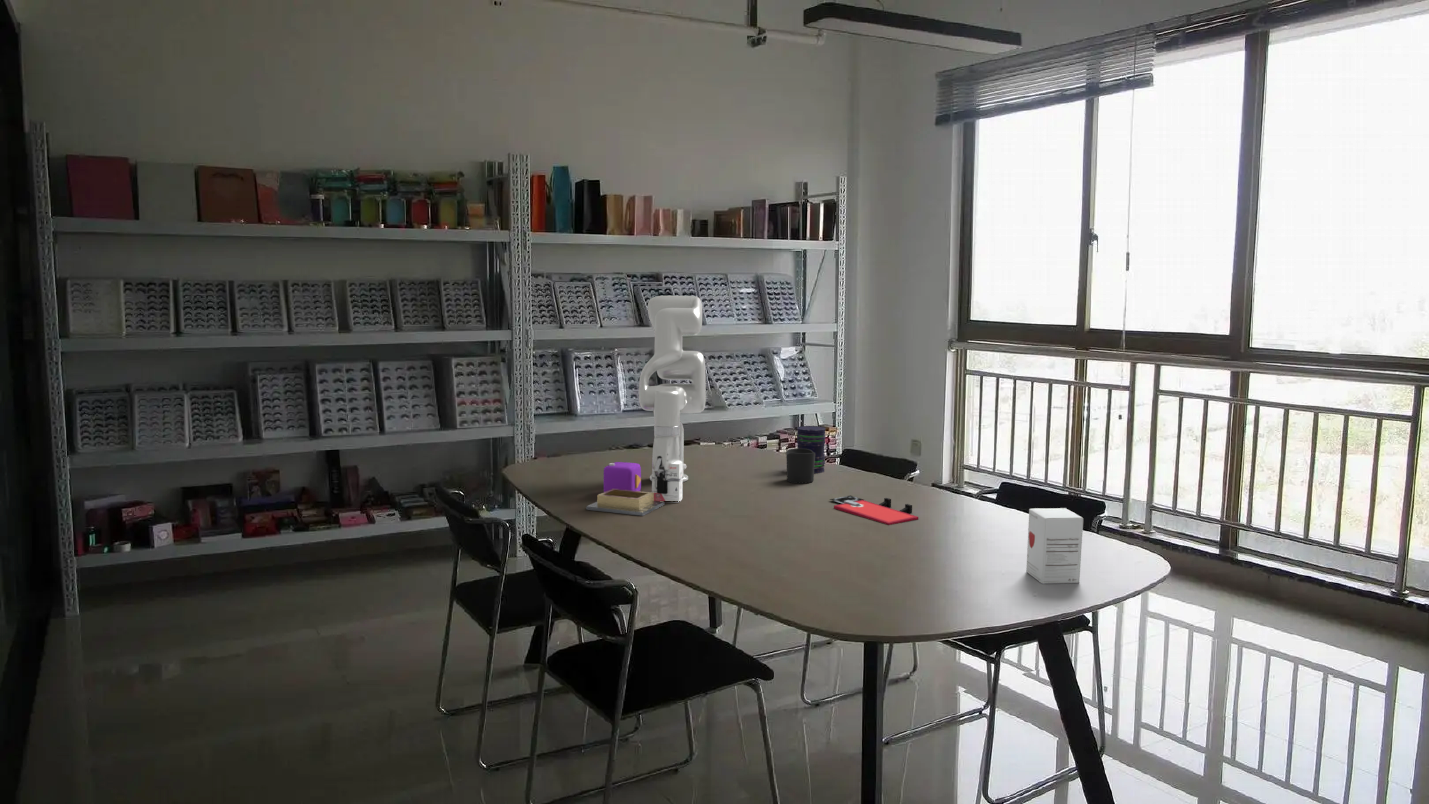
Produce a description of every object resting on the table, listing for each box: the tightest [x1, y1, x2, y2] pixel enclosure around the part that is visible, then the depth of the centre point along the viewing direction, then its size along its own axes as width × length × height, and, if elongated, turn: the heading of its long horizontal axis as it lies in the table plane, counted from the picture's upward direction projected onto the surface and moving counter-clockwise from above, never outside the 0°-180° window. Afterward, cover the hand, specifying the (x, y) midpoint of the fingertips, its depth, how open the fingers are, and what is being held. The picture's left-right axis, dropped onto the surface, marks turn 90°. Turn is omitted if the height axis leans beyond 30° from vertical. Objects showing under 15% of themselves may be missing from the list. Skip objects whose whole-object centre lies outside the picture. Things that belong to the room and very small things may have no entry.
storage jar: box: [796, 425, 826, 474], centre depth 336 cm, size 10×10×15 cm
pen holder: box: [785, 448, 815, 485], centre depth 319 cm, size 9×9×10 cm
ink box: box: [651, 460, 684, 503], centre depth 290 cm, size 9×5×12 cm, turn 81°
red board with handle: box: [829, 495, 919, 526], centre depth 280 cm, size 30×3×15 cm
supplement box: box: [1025, 507, 1084, 585], centre depth 218 cm, size 9×9×15 cm
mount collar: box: [585, 489, 665, 517], centre depth 281 cm, size 14×18×4 cm
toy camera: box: [603, 461, 642, 493], centre depth 299 cm, size 11×14×10 cm
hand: (666, 490), depth 290 cm, fingers closed on ink box, 5 cm apart
